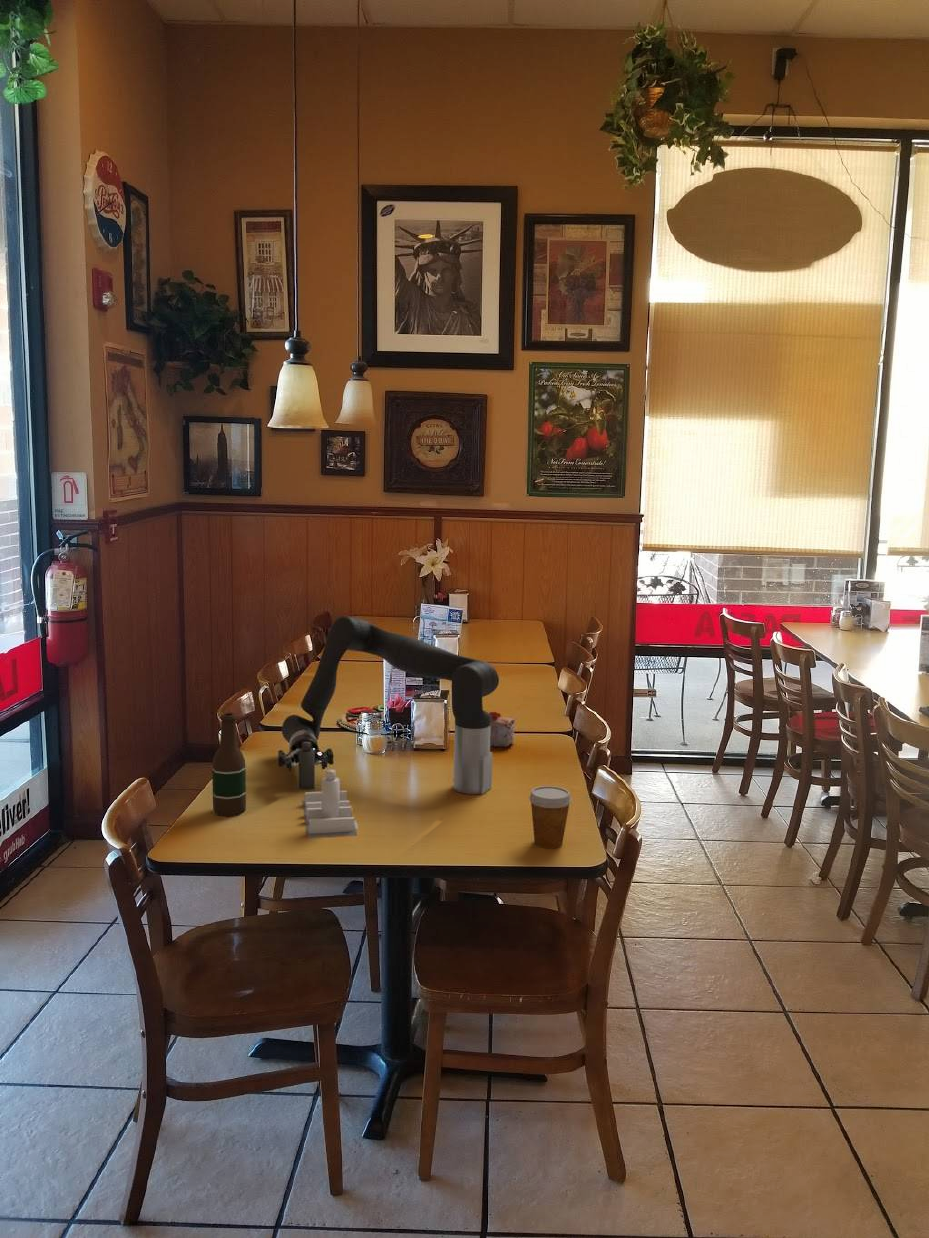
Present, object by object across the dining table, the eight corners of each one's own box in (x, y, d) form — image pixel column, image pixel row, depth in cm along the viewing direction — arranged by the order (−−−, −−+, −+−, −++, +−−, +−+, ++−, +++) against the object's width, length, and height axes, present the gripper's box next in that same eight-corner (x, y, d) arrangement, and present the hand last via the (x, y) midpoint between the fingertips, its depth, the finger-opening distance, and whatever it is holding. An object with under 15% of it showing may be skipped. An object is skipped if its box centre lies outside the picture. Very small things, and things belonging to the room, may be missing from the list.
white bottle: (342, 824, 234) (342, 769, 232) (333, 830, 230) (333, 774, 228) (327, 821, 235) (327, 767, 233) (318, 827, 232) (318, 772, 230)
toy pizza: (325, 717, 331) (325, 704, 330) (403, 709, 344) (404, 696, 343) (357, 740, 307) (357, 726, 306) (439, 730, 319) (440, 717, 319)
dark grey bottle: (317, 791, 260) (317, 741, 258) (309, 795, 256) (309, 746, 254) (304, 788, 262) (304, 739, 259) (295, 793, 258) (295, 743, 256)
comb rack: (302, 806, 249) (302, 788, 248) (350, 804, 251) (350, 786, 250) (307, 844, 226) (307, 824, 225) (359, 841, 228) (360, 822, 227)
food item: (517, 743, 307) (518, 711, 305) (510, 750, 299) (511, 717, 298) (474, 738, 311) (475, 706, 309) (466, 745, 304) (467, 712, 302)
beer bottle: (232, 803, 250) (231, 708, 246) (252, 811, 245) (251, 714, 241) (206, 811, 244) (204, 714, 240) (226, 819, 239) (225, 720, 235)
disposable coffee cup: (566, 835, 235) (568, 785, 233) (572, 851, 225) (574, 799, 223) (525, 834, 234) (527, 784, 232) (529, 851, 225) (531, 799, 223)
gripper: (276, 734, 269) (278, 752, 254) (330, 732, 272) (335, 750, 257) (276, 761, 271) (278, 781, 255) (330, 759, 274) (335, 779, 258)
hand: (307, 766), depth 256 cm, fingers open, 8 cm apart
